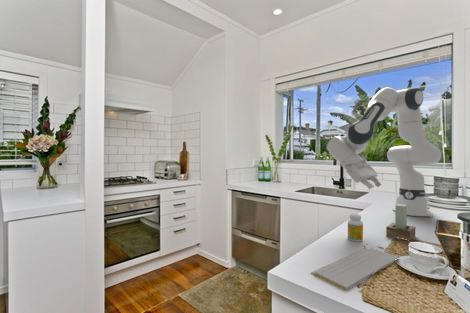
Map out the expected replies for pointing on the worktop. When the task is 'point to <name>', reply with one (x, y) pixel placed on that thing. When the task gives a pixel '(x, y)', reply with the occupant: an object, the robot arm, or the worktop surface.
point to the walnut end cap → (400, 232)
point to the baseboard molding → (355, 267)
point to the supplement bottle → (355, 228)
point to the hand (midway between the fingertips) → (376, 186)
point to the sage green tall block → (401, 216)
